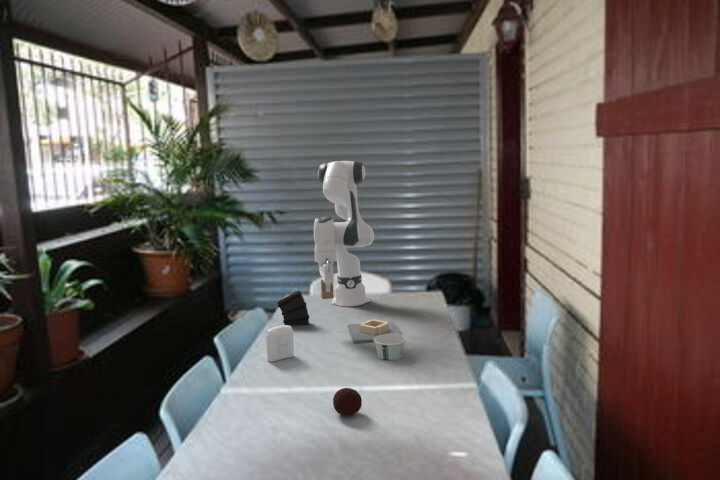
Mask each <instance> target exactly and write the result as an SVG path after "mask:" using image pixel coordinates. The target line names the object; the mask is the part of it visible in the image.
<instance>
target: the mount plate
mask: <svg viewBox="0 0 720 480" xmlns="http://www.w3.org/2000/svg"><path fill="white" fill-rule="evenodd" d="M347 329H348V332H349V336H350V337H351V338H350V339H351V341H352V343H353V344H359V343H360V344H361V343H375V342H374V338H375V337H376V336H379V335H383V334H399V335H402V333H401V331H400V329H399V328H398V326H397V324H396V323H395V322H394V321H385V320H379V319H374V318H373V319H369V320H366V321H364V322H361V323H353V324H352V323H350V324H347Z"/></svg>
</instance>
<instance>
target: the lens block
mask: <svg viewBox="0 0 720 480" xmlns="http://www.w3.org/2000/svg"><path fill="white" fill-rule="evenodd" d="M320 291H321V293H320V295H321V298H322V300H329V299H332V300H333V298H334V295H335V293H334V283H333V284H331V286H330V292H326V285H325V283H324V281H323V279H320Z"/></svg>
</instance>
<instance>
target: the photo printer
mask: <svg viewBox="0 0 720 480" xmlns="http://www.w3.org/2000/svg"><path fill="white" fill-rule="evenodd" d="M292 327H293V326H288V325H284V324H280V325H278V326H273V327H271V328H270V329H267V331H265V332H266V333H265V338H266V339H265V341H266V357H267V361H268V362H276V361H280V360H281V361H282V360H285V359H289V358H293V357H294V356H295V353H294V352H295V350H294V348H295V347H294V330H293V328H292Z"/></svg>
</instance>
